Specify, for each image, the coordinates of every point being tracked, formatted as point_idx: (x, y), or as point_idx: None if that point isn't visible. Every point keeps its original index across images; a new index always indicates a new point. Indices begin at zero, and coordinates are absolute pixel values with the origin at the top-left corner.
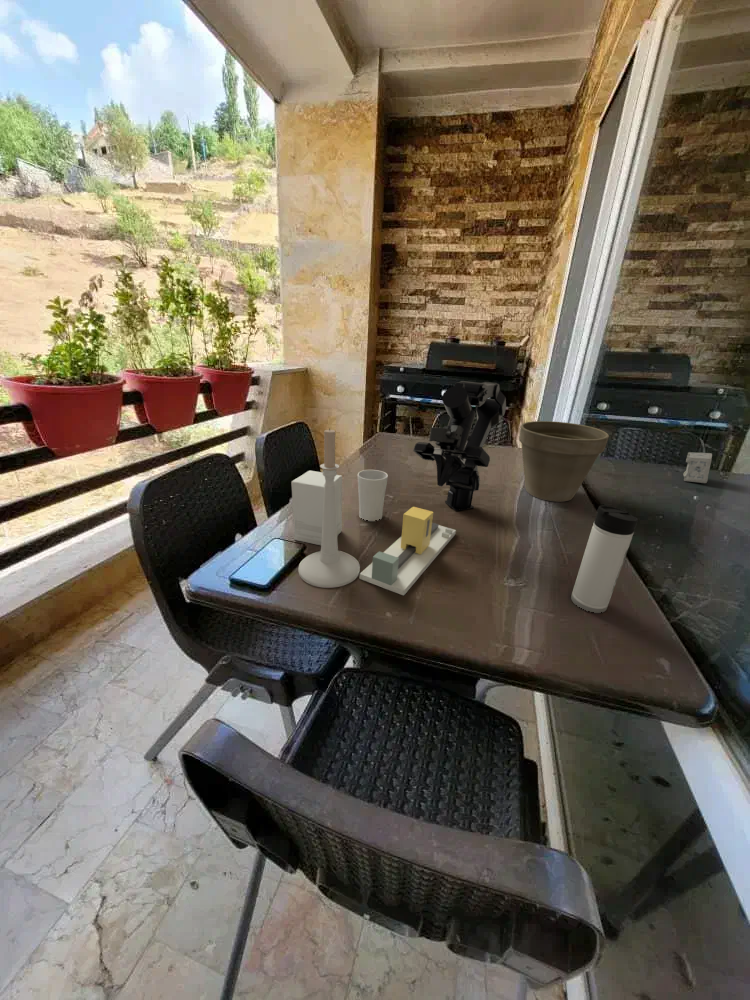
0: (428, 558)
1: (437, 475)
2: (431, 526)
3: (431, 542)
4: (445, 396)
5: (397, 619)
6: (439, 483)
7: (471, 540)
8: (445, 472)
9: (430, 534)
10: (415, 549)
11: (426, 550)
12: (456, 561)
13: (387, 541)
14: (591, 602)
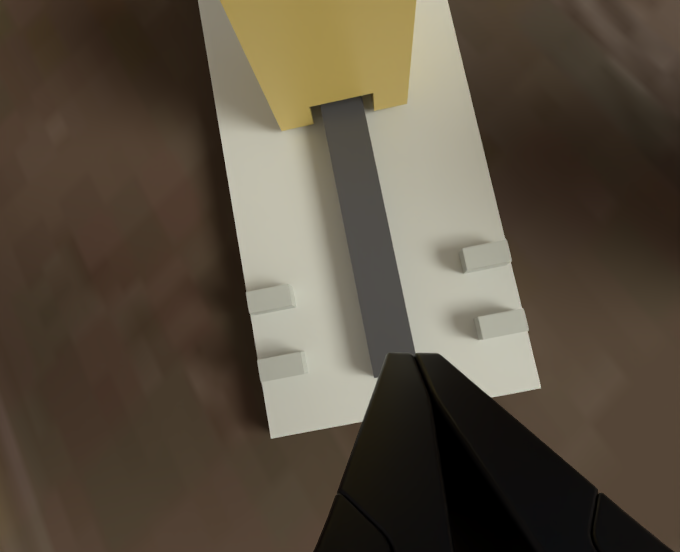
0: (216, 28)
1: (519, 426)
2: (251, 63)
3: (297, 178)
4: None
5: None
6: (405, 356)
7: (165, 435)
8: (362, 487)
9: (265, 94)
10: None
11: None
12: (126, 163)
13: (517, 57)
14: None
